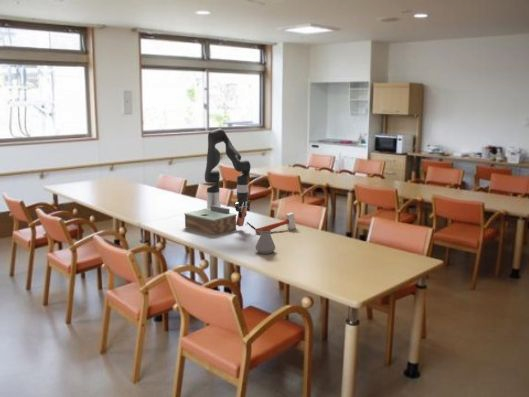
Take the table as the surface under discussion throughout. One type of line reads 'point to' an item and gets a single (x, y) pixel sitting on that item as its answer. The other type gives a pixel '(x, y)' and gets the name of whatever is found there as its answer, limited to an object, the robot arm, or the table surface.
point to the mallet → (281, 223)
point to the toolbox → (210, 225)
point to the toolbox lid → (212, 213)
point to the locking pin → (241, 220)
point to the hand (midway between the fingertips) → (242, 216)
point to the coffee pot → (264, 241)
